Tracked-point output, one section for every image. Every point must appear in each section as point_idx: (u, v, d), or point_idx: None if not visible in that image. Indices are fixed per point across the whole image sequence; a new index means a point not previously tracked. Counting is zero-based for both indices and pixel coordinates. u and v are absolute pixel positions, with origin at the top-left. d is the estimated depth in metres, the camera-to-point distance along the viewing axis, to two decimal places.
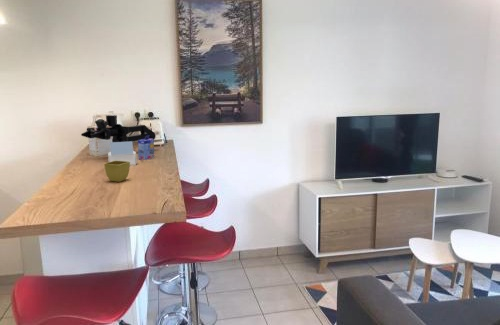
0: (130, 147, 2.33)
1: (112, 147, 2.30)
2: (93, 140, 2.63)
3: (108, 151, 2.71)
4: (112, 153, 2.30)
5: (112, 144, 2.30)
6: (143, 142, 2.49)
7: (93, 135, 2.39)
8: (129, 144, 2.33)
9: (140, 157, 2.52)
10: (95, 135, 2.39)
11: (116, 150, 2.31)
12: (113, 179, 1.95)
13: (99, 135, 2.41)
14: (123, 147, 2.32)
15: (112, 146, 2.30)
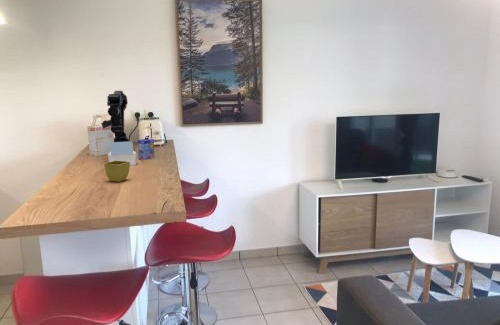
0: (130, 147, 2.33)
1: (112, 147, 2.30)
2: (93, 140, 2.63)
3: (108, 151, 2.71)
4: (112, 153, 2.30)
5: (112, 144, 2.30)
6: (143, 142, 2.49)
7: (117, 140, 2.43)
8: (129, 144, 2.33)
9: (140, 157, 2.52)
10: (117, 138, 2.42)
11: (116, 150, 2.31)
12: (113, 179, 1.95)
13: (117, 134, 2.42)
14: (123, 147, 2.32)
15: (112, 146, 2.30)
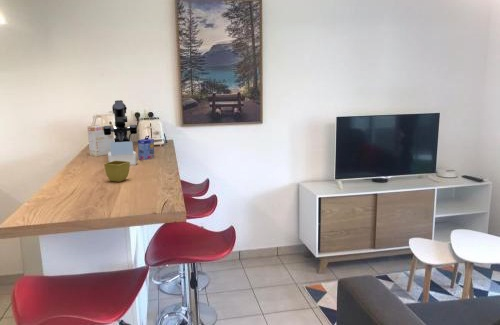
0: (130, 147, 2.33)
1: (112, 147, 2.30)
2: (93, 140, 2.63)
3: (108, 151, 2.71)
4: (112, 153, 2.30)
5: (112, 144, 2.30)
6: (143, 142, 2.49)
7: (122, 139, 2.39)
8: (129, 144, 2.33)
9: (140, 157, 2.52)
10: (122, 138, 2.40)
11: (116, 150, 2.31)
12: (113, 179, 1.95)
13: (123, 135, 2.42)
14: (123, 147, 2.32)
15: (112, 146, 2.30)
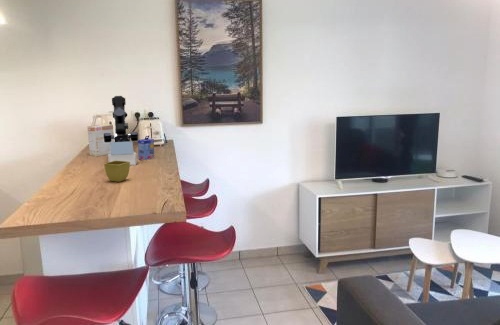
0: (130, 147, 2.33)
1: (112, 147, 2.30)
2: (93, 140, 2.63)
3: (108, 151, 2.71)
4: (112, 153, 2.30)
5: (112, 144, 2.30)
6: (143, 142, 2.49)
7: None
8: (129, 144, 2.33)
9: (140, 157, 2.52)
10: None
11: (116, 150, 2.31)
12: (113, 179, 1.95)
13: None
14: (123, 147, 2.32)
15: (112, 146, 2.30)
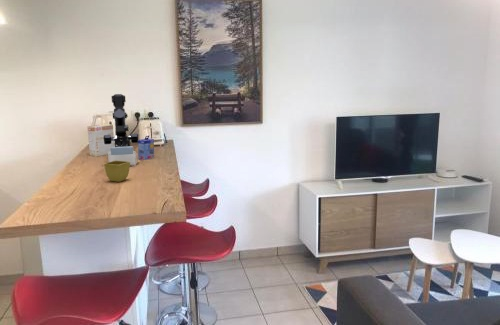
0: (130, 150, 2.30)
1: (112, 151, 2.27)
2: (93, 140, 2.63)
3: (108, 151, 2.71)
4: (112, 154, 2.30)
5: (112, 149, 2.26)
6: (143, 142, 2.49)
7: None
8: (129, 148, 2.29)
9: (140, 157, 2.52)
10: None
11: (116, 152, 2.29)
12: (113, 179, 1.95)
13: (124, 144, 2.32)
14: (123, 150, 2.29)
15: (112, 150, 2.26)
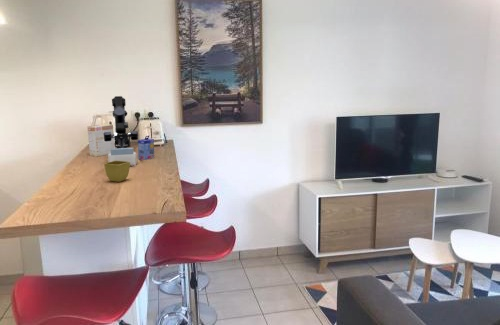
0: (130, 151, 2.30)
1: (112, 151, 2.27)
2: (93, 140, 2.63)
3: (108, 151, 2.71)
4: (112, 154, 2.30)
5: (112, 150, 2.25)
6: (143, 142, 2.49)
7: (123, 146, 2.34)
8: (130, 150, 2.28)
9: (140, 157, 2.52)
10: (123, 144, 2.35)
11: (116, 153, 2.29)
12: (113, 179, 1.95)
13: (124, 141, 2.37)
14: (123, 151, 2.29)
15: (112, 151, 2.26)
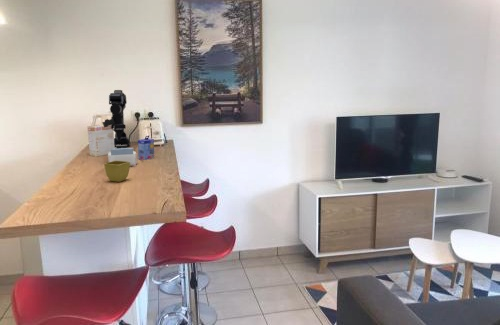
0: (130, 151, 2.30)
1: (112, 151, 2.27)
2: (93, 140, 2.63)
3: (108, 151, 2.71)
4: (112, 154, 2.30)
5: (112, 150, 2.25)
6: (143, 142, 2.49)
7: (118, 139, 2.43)
8: (130, 150, 2.28)
9: (140, 157, 2.52)
10: (118, 137, 2.43)
11: (116, 153, 2.29)
12: (113, 179, 1.95)
13: (119, 133, 2.42)
14: (123, 151, 2.29)
15: (112, 151, 2.26)
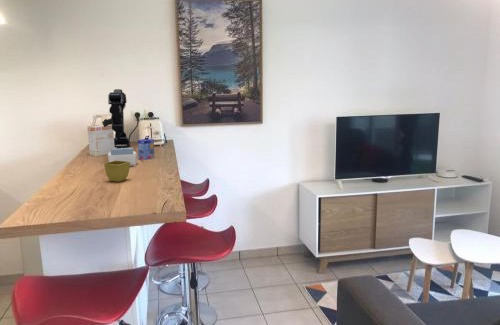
0: (130, 151, 2.30)
1: (112, 151, 2.27)
2: (93, 140, 2.63)
3: (108, 151, 2.71)
4: (112, 154, 2.30)
5: (112, 150, 2.25)
6: (143, 142, 2.49)
7: (118, 138, 2.44)
8: (130, 150, 2.28)
9: (140, 157, 2.52)
10: (118, 136, 2.43)
11: (116, 153, 2.29)
12: (113, 179, 1.95)
13: (118, 132, 2.42)
14: (123, 151, 2.29)
15: (112, 151, 2.26)
